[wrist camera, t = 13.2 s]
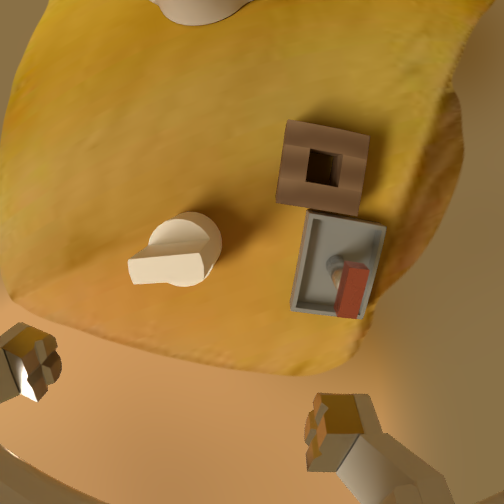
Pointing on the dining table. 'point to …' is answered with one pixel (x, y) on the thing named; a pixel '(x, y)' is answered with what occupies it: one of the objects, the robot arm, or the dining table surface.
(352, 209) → the wooden square hole block
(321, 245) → the tray
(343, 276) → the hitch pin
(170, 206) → the dining table surface
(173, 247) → the base with upright slab
